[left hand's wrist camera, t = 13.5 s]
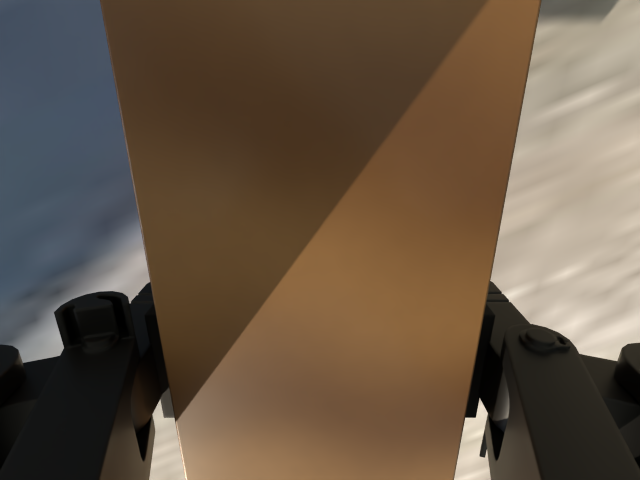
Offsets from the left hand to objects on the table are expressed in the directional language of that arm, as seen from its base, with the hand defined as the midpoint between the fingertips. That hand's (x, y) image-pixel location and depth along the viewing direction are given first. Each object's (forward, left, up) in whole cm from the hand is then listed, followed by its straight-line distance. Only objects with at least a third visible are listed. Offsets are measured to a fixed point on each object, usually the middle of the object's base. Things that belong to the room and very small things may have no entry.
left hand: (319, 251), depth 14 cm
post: (+11, +34, -1) cm, 36 cm away
